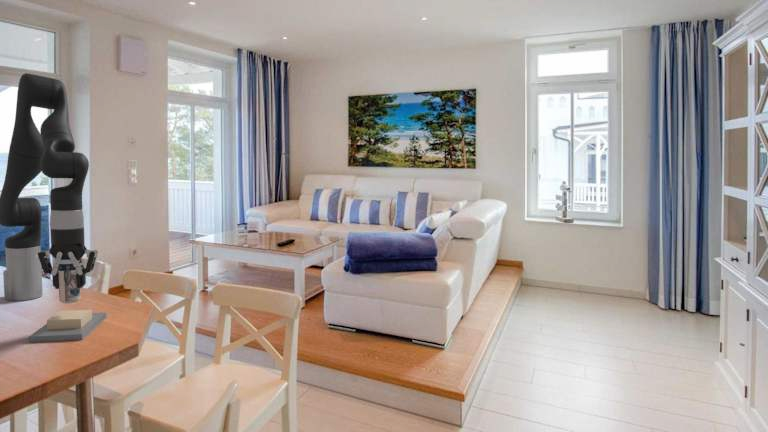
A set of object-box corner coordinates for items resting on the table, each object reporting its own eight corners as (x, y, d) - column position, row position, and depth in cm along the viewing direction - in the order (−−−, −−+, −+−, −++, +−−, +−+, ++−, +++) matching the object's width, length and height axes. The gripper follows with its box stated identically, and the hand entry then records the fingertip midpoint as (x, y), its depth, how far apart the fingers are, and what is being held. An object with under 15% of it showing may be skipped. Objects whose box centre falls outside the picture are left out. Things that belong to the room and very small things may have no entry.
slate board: (29, 342, 117) (28, 327, 116) (60, 319, 134) (60, 305, 134) (82, 339, 120) (81, 324, 119) (106, 317, 137) (105, 304, 137)
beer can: (69, 304, 123) (68, 260, 122) (55, 303, 124) (53, 259, 123) (84, 299, 128) (83, 257, 127) (70, 298, 129) (68, 256, 128)
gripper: (101, 224, 129) (103, 283, 131) (43, 224, 126) (46, 285, 128) (91, 228, 122) (93, 290, 124) (29, 228, 119) (32, 292, 120)
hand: (69, 287), depth 126 cm, fingers closed on beer can, 4 cm apart
